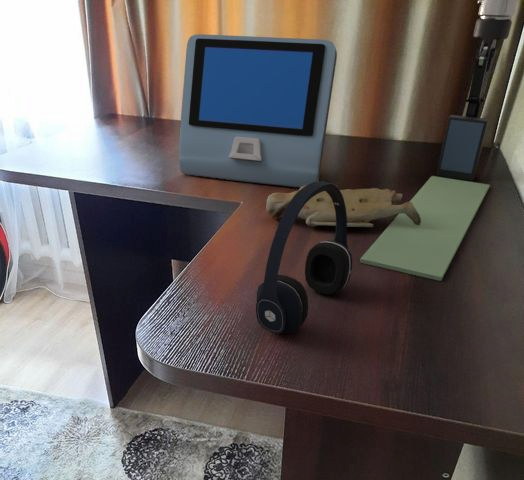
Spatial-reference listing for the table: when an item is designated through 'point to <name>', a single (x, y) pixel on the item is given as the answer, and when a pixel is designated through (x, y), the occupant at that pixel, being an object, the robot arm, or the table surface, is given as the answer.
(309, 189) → the headphones
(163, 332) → the table surface
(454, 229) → the green mat
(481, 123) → the black device
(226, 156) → the touchscreen device
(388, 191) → the statue
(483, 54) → the robot arm
